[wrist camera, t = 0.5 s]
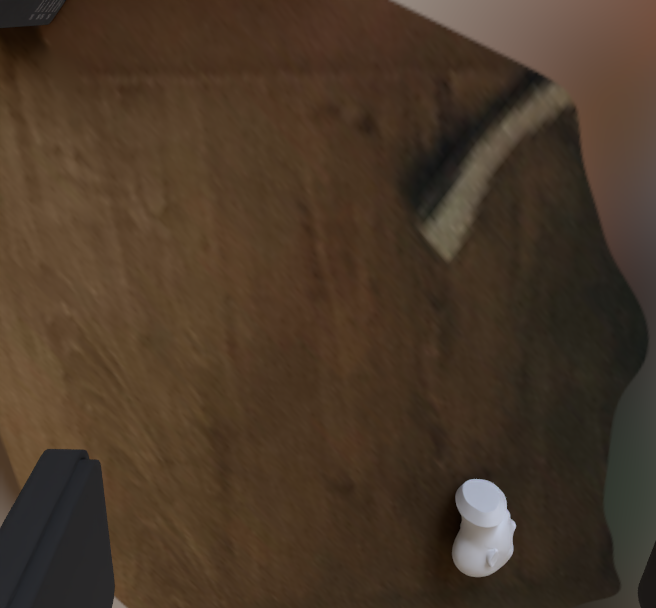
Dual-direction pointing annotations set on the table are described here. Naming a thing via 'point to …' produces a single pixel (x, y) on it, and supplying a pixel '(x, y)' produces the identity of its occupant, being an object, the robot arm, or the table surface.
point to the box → (28, 12)
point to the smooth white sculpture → (482, 529)
